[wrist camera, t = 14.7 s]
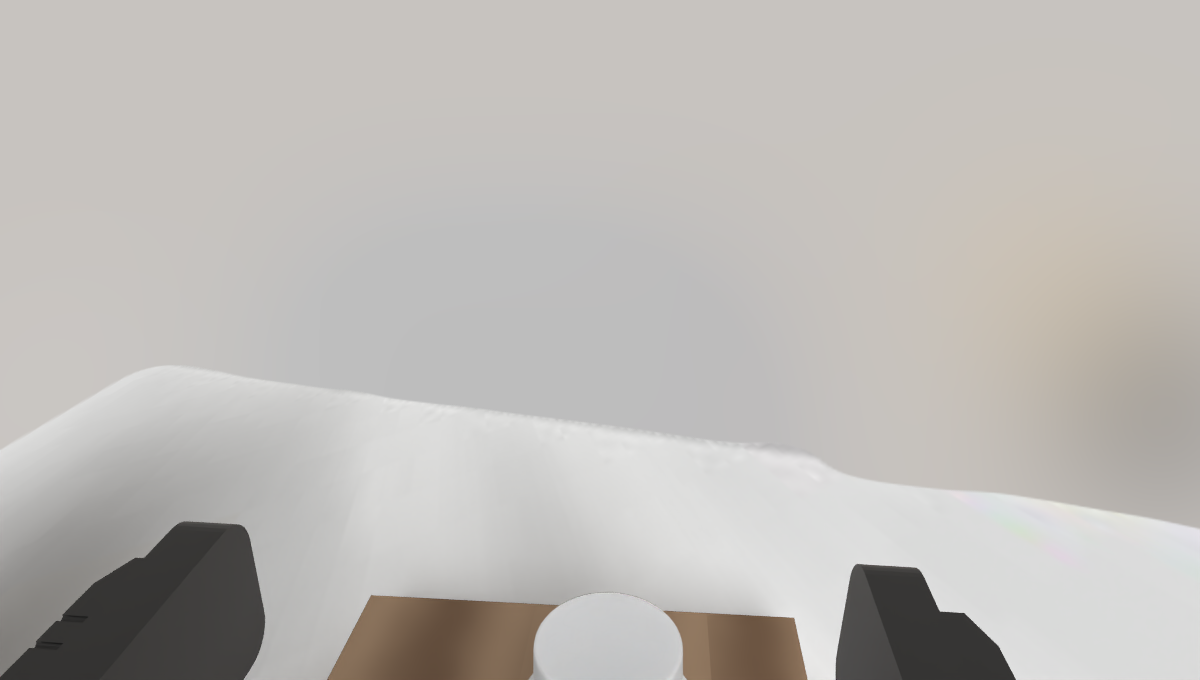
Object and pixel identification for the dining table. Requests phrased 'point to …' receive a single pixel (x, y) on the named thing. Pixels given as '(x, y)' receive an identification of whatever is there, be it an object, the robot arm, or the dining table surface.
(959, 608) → the dining table surface
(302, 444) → the dining table surface
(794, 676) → the socket block
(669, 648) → the pill bottle
